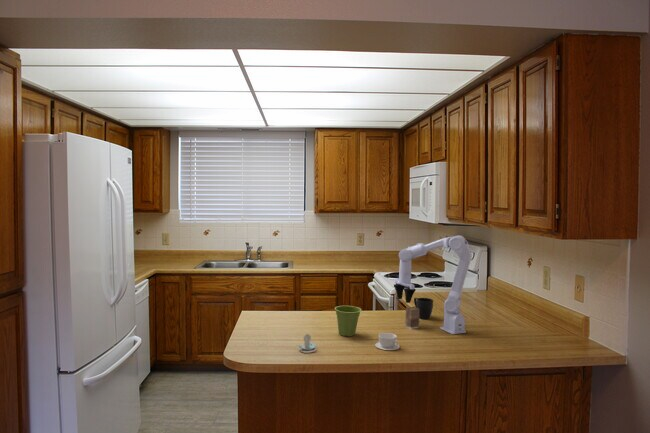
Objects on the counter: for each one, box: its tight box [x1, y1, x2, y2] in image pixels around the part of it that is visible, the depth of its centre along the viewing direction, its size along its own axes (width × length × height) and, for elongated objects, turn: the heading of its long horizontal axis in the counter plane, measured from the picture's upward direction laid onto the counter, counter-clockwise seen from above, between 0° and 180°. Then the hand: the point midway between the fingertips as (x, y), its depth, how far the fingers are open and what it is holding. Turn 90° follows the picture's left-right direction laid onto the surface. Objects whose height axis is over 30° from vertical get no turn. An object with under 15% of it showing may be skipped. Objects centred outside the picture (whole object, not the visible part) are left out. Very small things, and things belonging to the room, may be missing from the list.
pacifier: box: [297, 333, 317, 354], centre depth 162 cm, size 7×6×6 cm
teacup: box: [374, 332, 401, 351], centre depth 169 cm, size 10×10×5 cm
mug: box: [413, 297, 434, 320], centre depth 214 cm, size 8×12×10 cm
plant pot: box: [334, 305, 362, 337], centre depth 183 cm, size 12×12×11 cm
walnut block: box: [405, 306, 420, 330], centre depth 196 cm, size 4×4×9 cm
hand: (403, 300), depth 203 cm, fingers open, 7 cm apart
